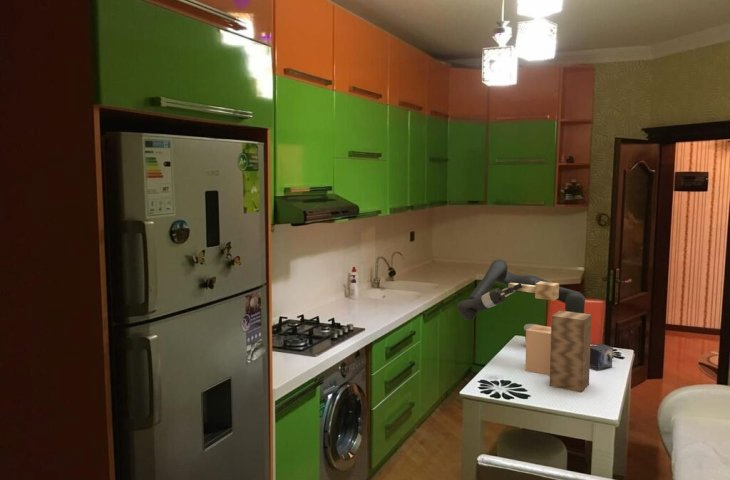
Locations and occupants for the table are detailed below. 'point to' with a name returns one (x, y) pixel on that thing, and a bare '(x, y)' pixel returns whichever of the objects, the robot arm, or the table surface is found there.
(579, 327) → the walnut block
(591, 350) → the small box
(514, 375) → the table surface
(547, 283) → the mallet
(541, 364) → the pedestal
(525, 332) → the disposable coffee cup
